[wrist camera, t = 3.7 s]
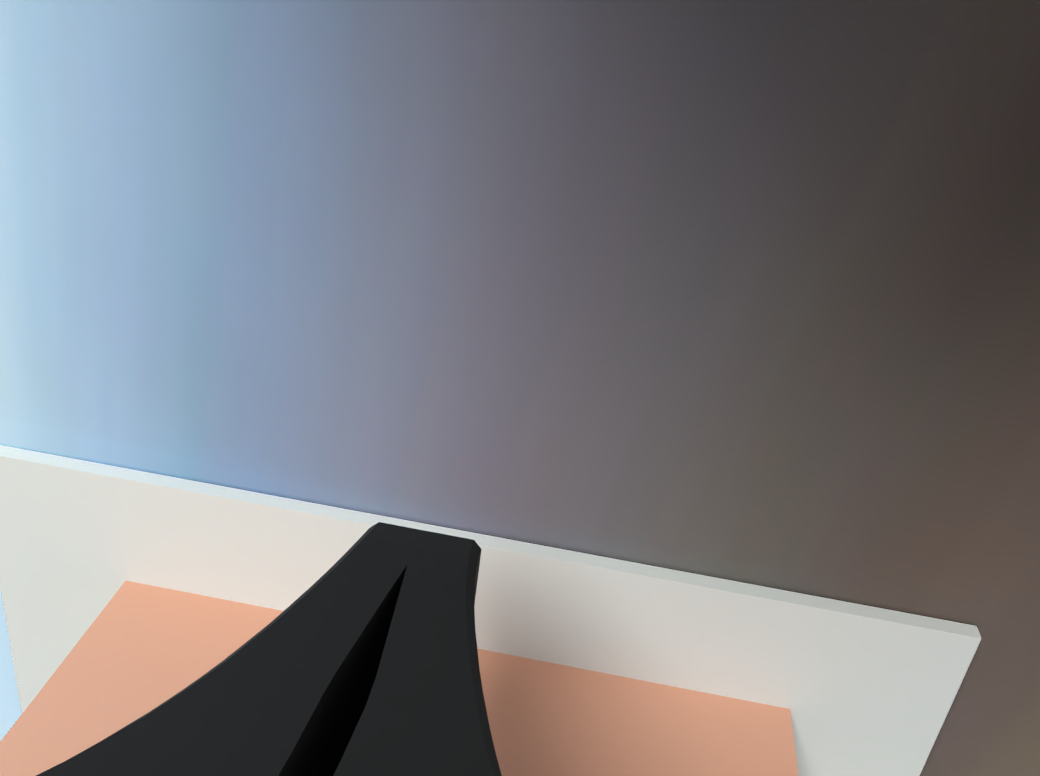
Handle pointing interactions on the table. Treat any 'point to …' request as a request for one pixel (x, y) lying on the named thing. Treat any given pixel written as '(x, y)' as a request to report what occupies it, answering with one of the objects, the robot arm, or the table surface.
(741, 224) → the table surface
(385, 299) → the table surface
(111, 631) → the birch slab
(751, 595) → the rubber mat
